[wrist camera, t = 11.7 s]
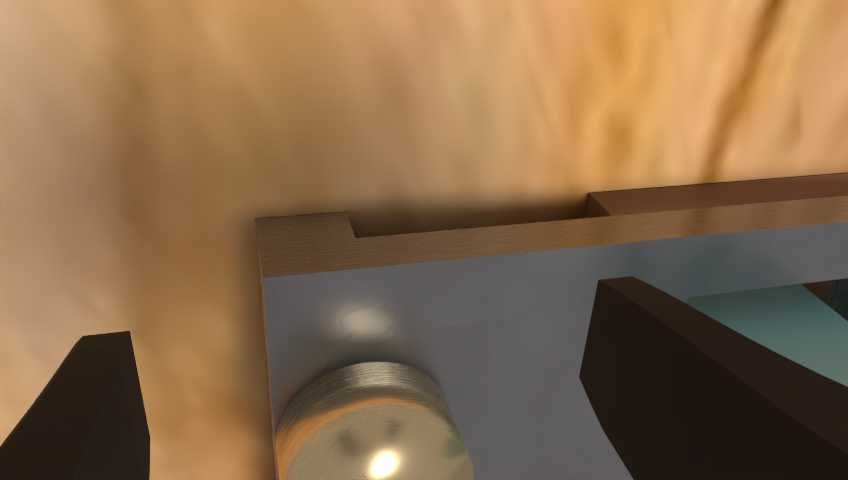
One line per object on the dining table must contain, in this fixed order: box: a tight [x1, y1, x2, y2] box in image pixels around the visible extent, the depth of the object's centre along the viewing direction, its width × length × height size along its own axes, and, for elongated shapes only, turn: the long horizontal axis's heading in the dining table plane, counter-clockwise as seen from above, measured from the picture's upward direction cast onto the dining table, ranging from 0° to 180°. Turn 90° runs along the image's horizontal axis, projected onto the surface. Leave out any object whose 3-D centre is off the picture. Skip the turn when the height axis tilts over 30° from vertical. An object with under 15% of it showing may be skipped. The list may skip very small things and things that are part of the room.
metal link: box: [255, 196, 848, 480], centre depth 23 cm, size 11×21×5 cm, turn 87°
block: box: [686, 284, 848, 387], centre depth 23 cm, size 4×4×9 cm
